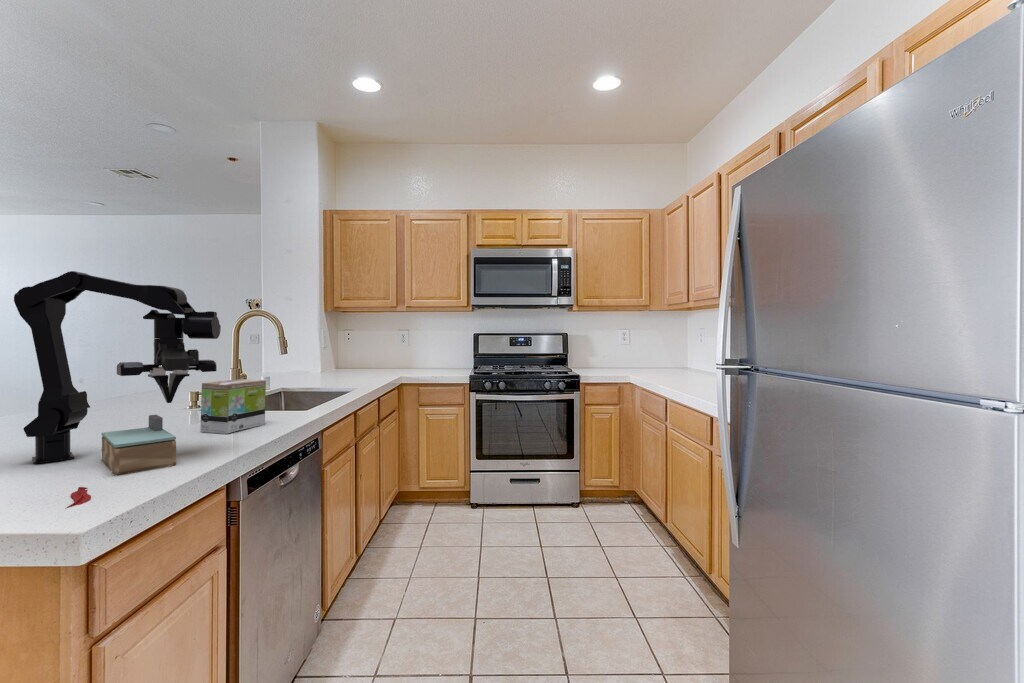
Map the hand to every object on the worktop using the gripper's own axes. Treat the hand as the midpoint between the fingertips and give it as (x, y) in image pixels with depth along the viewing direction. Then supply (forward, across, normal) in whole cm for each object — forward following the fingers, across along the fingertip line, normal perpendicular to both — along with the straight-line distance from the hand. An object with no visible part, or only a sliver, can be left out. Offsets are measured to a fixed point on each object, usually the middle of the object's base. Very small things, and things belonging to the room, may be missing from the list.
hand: (169, 402), depth 110 cm
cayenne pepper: (+13, -18, -23) cm, 32 cm away
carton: (+12, -6, -4) cm, 15 cm away
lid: (+7, -7, -4) cm, 10 cm away
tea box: (+13, +21, +21) cm, 32 cm away
